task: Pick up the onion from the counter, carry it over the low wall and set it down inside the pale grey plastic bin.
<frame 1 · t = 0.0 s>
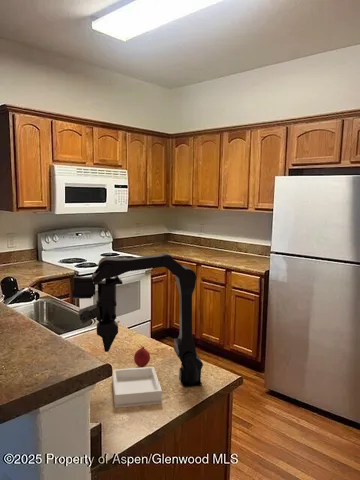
hand: (106, 345, 116), 15 cm above the worktop, fingers open, 9 cm apart
bin: (135, 391, 117), on the worktop
onion: (141, 368, 133), on the worktop
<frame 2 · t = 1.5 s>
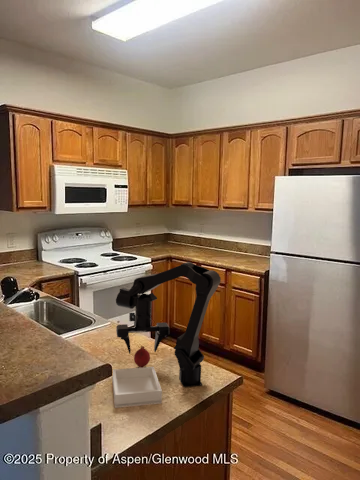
hand: (142, 352, 132), 6 cm above the worktop, fingers open, 9 cm apart
nothing on the worktop moved.
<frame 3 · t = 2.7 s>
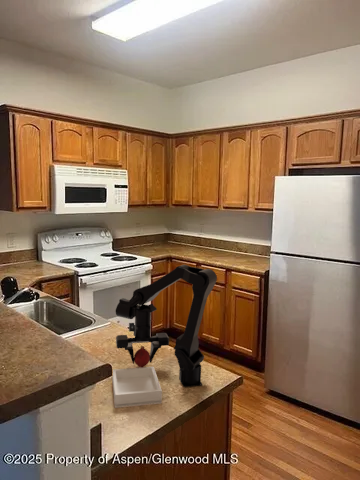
hand: (141, 362, 133), 2 cm above the worktop, fingers closed on onion, 6 cm apart
onion: (141, 368, 133), on the worktop, touching gripper
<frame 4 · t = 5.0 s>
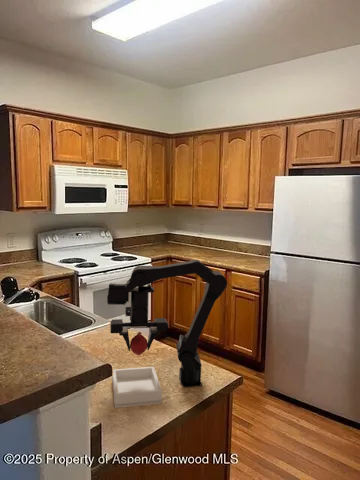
hand: (138, 350, 121), 11 cm above the worktop, fingers closed on onion, 6 cm apart
onion: (138, 355, 122), point 9 cm above the worktop, touching gripper
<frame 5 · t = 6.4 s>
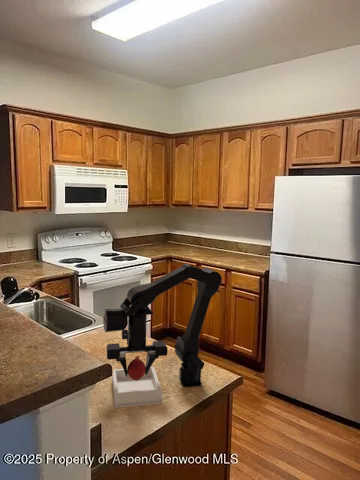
hand: (136, 375, 116), 5 cm above the worktop, fingers closed on onion, 6 cm apart
onion: (136, 381, 116), point 3 cm above the worktop, touching gripper
when the fingers open (5 cm above the worktop, at t = 7.4 s): onion drops 2 cm, resting on bin.
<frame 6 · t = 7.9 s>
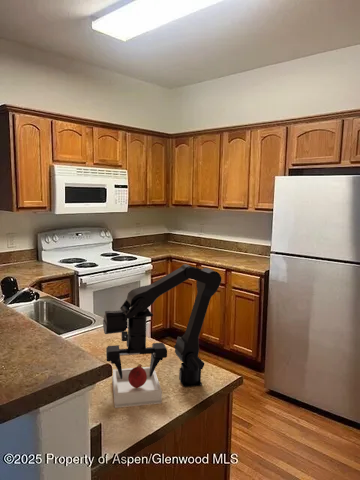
hand: (136, 377, 116), 5 cm above the worktop, fingers open, 9 cm apart
onion: (135, 388, 117), point 1 cm above the worktop, touching bin
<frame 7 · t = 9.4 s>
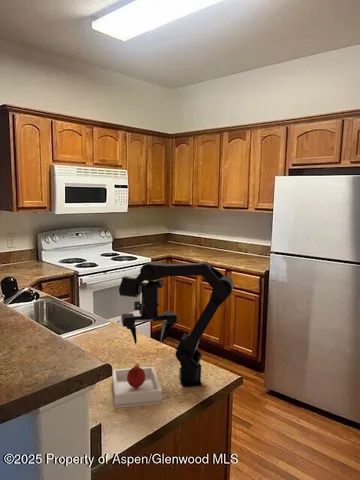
hand: (148, 342, 126), 12 cm above the worktop, fingers open, 9 cm apart
nothing on the worktop moved.
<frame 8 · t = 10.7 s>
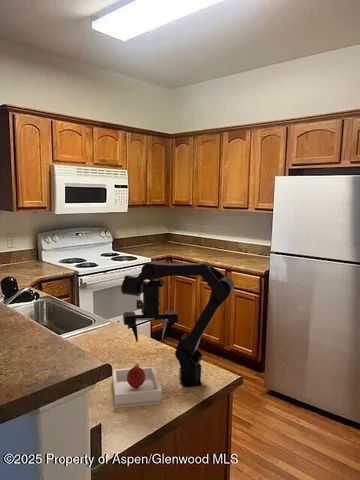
hand: (150, 341, 127), 12 cm above the worktop, fingers open, 9 cm apart
nothing on the worktop moved.
at the end: onion inside the target area on the bin (0.1 cm from its centre), point 0.8 cm above the bin's base; onion touching bin; the gripper is holding nothing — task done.
